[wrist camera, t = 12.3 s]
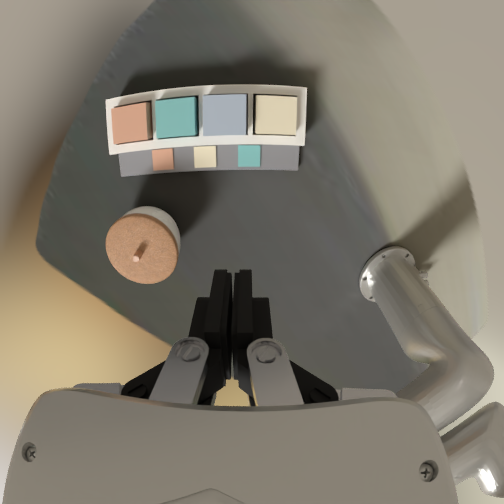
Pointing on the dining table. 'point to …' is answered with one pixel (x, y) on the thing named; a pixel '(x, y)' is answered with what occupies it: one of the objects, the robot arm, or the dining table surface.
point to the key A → (132, 123)
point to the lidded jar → (144, 245)
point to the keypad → (210, 147)
